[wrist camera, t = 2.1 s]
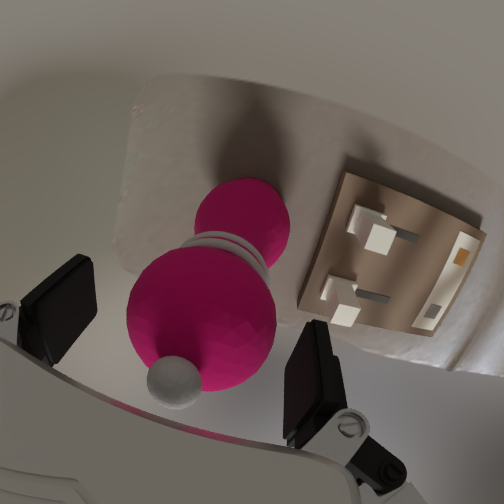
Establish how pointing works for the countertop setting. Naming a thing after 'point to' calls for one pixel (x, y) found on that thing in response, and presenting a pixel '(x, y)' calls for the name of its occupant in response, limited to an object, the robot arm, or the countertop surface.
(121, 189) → the countertop surface
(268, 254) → the pepper mill
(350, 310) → the tab
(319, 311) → the switch board
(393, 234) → the tab
